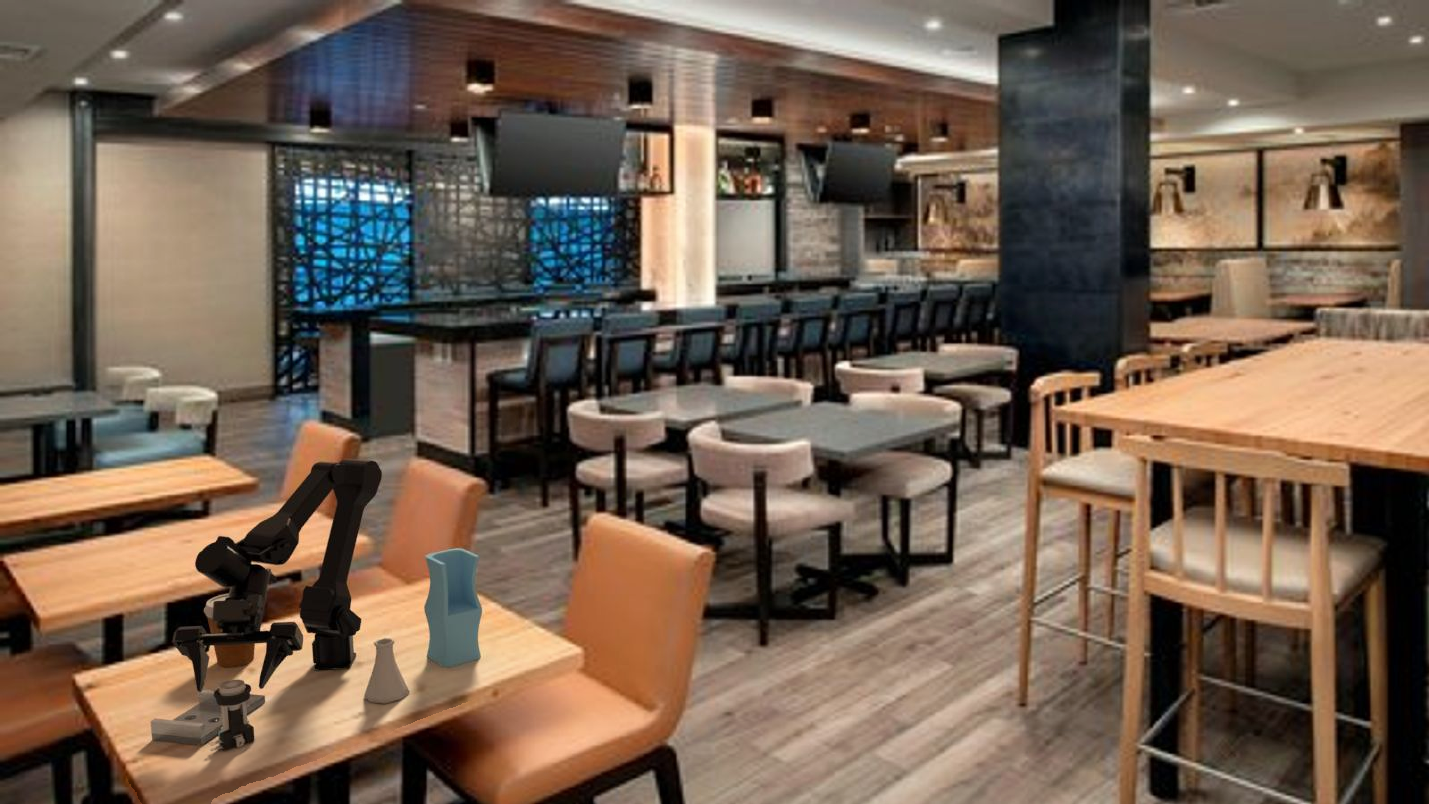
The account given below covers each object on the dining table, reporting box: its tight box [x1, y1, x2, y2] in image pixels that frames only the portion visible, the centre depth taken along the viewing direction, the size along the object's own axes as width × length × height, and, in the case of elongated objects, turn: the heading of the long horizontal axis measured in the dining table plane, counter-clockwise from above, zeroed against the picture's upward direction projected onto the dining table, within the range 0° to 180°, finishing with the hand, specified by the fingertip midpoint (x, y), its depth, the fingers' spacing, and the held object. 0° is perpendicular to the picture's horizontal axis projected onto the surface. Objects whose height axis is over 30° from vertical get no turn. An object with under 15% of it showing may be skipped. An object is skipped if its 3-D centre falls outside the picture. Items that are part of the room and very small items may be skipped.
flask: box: [363, 637, 410, 704], centre depth 181 cm, size 7×7×10 cm
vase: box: [423, 547, 483, 668], centre depth 197 cm, size 8×8×20 cm
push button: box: [209, 679, 255, 752], centre depth 163 cm, size 7×5×10 cm
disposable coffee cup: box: [203, 593, 256, 668], centre depth 196 cm, size 10×10×12 cm
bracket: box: [150, 689, 266, 747], centre depth 172 cm, size 16×9×3 cm, turn 168°
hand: (230, 689), depth 163 cm, fingers open, 9 cm apart
